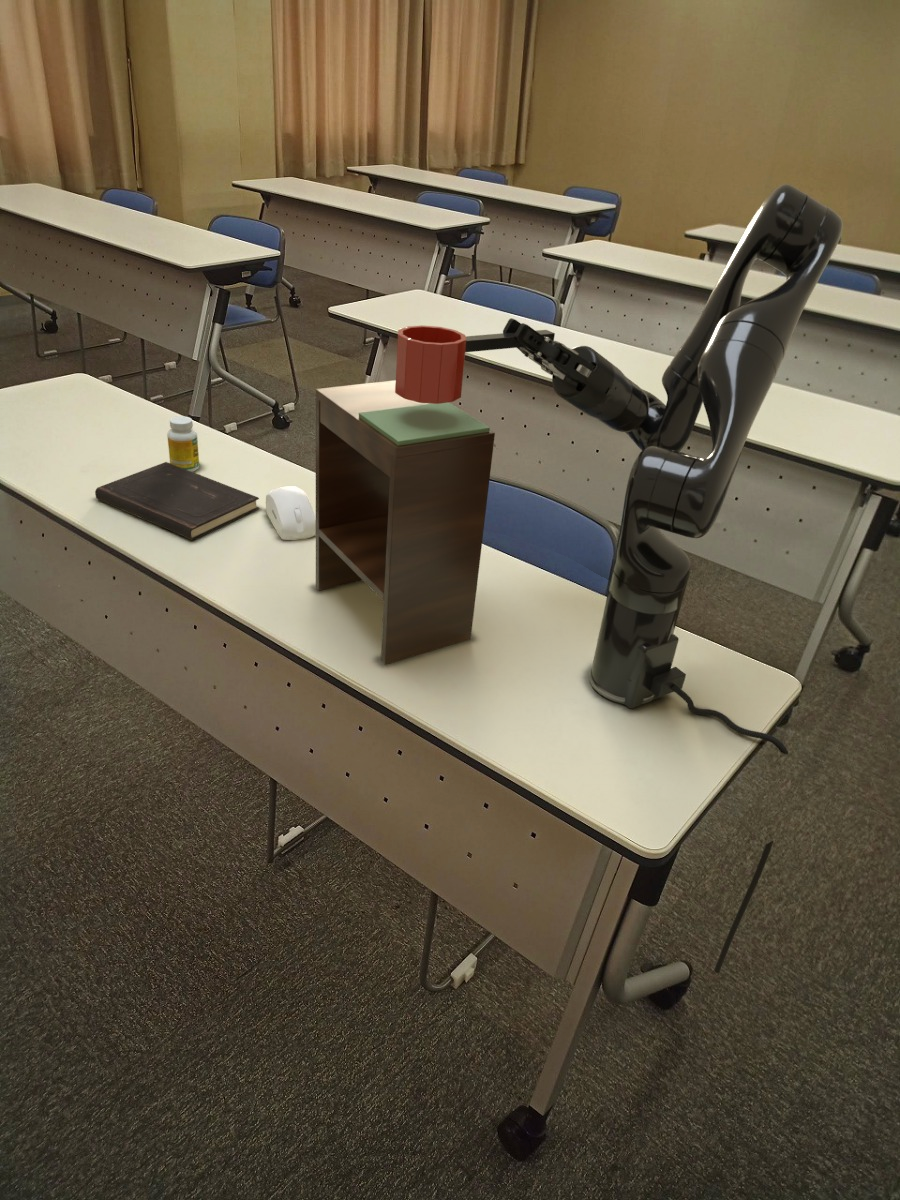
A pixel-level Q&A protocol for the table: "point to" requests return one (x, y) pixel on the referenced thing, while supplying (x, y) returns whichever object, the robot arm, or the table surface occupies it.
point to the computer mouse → (291, 513)
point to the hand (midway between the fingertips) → (513, 328)
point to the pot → (440, 360)
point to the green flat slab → (423, 423)
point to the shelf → (400, 518)
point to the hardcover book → (178, 500)
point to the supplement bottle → (183, 443)
